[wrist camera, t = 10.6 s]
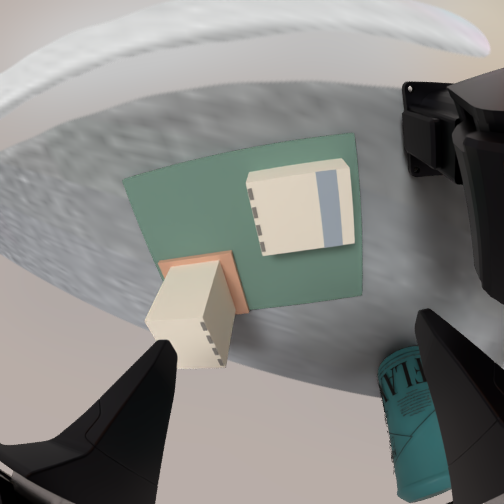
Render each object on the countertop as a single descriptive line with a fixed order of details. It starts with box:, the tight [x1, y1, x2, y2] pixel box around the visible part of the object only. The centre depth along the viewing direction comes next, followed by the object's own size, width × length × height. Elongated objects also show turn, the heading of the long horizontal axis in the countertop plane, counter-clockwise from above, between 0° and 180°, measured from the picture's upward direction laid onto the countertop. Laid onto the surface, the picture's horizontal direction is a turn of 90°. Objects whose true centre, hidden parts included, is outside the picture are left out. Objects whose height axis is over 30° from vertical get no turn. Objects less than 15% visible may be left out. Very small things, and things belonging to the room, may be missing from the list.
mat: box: [122, 133, 362, 310], centre depth 21 cm, size 16×13×1 cm
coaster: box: [158, 250, 249, 314], centre depth 24 cm, size 6×6×1 cm
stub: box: [145, 260, 236, 369], centre depth 21 cm, size 4×5×6 cm
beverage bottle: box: [377, 346, 453, 504], centre depth 19 cm, size 6×7×20 cm
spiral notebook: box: [246, 158, 355, 256], centre depth 18 cm, size 6×5×2 cm
